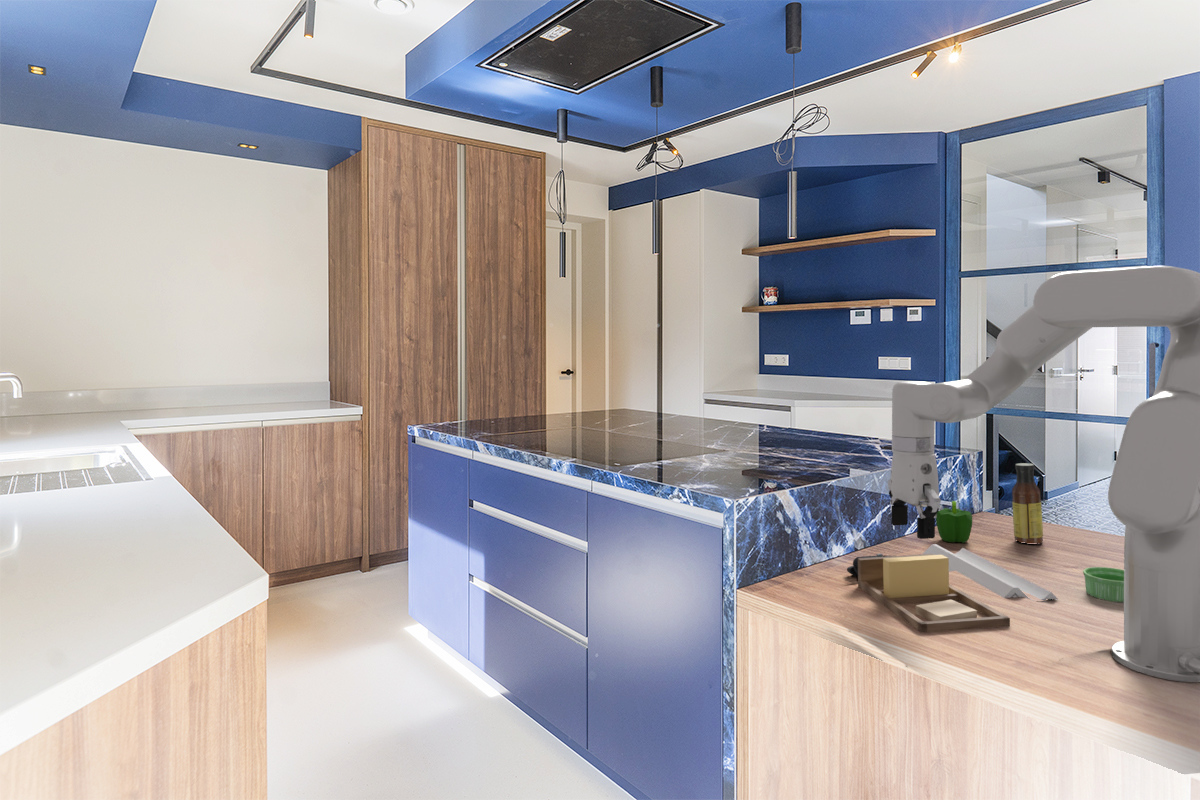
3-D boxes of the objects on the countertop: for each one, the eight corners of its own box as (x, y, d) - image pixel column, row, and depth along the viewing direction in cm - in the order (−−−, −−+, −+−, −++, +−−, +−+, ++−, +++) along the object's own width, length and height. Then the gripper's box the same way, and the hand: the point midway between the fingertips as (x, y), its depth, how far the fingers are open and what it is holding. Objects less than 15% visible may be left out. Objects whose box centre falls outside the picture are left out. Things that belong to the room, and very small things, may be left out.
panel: (949, 603, 132) (948, 558, 132) (889, 607, 132) (889, 561, 131) (942, 599, 135) (941, 554, 134) (883, 603, 134) (883, 558, 133)
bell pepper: (966, 547, 168) (965, 507, 168) (931, 541, 174) (931, 503, 174) (978, 540, 174) (977, 501, 173) (944, 535, 180) (944, 498, 179)
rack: (1009, 631, 118) (1009, 592, 117) (921, 638, 117) (920, 598, 116) (932, 586, 142) (931, 553, 141) (858, 591, 141) (857, 558, 140)
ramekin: (1099, 603, 129) (1099, 581, 129) (1073, 587, 138) (1073, 566, 138) (1151, 604, 128) (1151, 581, 127) (1121, 588, 137) (1121, 566, 136)
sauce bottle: (1042, 540, 171) (1042, 462, 170) (1043, 546, 166) (1043, 466, 165) (1012, 537, 175) (1011, 461, 173) (1012, 544, 169) (1011, 465, 168)
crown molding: (1057, 604, 131) (1057, 585, 131) (996, 607, 131) (995, 589, 131) (967, 557, 162) (967, 542, 162) (918, 559, 162) (917, 544, 162)
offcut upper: (977, 619, 121) (977, 610, 121) (940, 625, 119) (940, 616, 119) (951, 607, 127) (951, 599, 127) (915, 613, 125) (915, 605, 125)
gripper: (958, 450, 123) (956, 542, 124) (908, 438, 140) (907, 519, 142) (918, 452, 123) (917, 544, 124) (873, 439, 140) (872, 521, 141)
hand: (912, 531), depth 133 cm, fingers open, 9 cm apart
